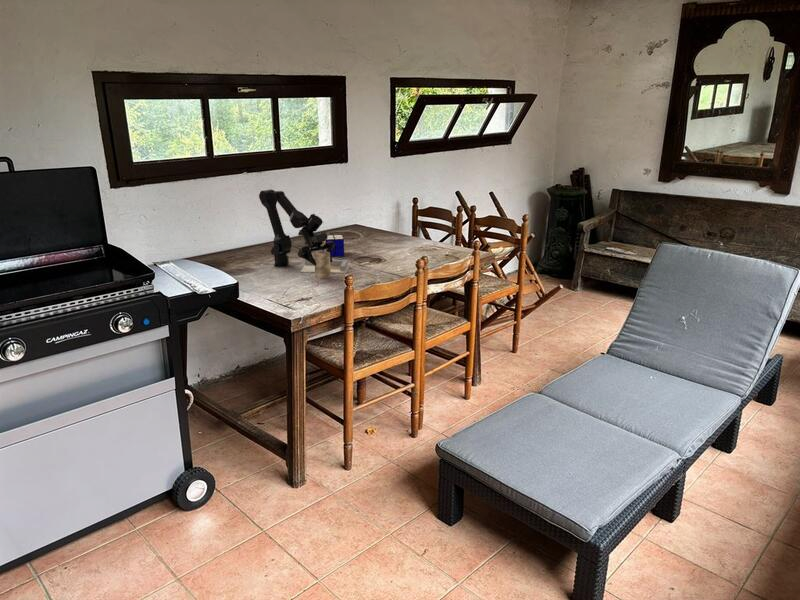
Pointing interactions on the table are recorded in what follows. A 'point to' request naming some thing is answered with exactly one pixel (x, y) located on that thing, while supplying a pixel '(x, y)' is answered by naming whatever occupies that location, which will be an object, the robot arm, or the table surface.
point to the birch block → (322, 264)
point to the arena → (335, 266)
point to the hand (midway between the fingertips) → (323, 263)
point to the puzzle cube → (336, 245)
